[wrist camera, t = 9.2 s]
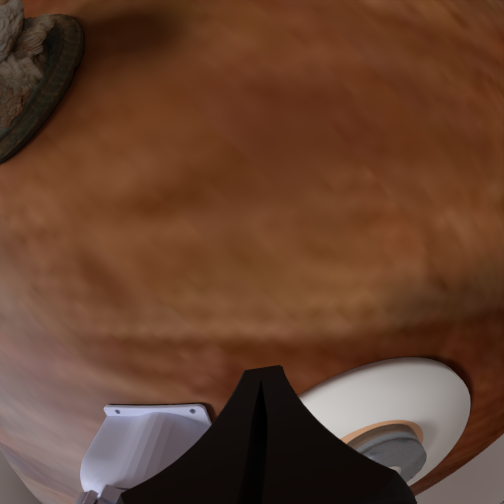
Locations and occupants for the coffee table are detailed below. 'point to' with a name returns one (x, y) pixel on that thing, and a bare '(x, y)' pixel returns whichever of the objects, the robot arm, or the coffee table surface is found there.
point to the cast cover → (392, 448)
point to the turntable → (395, 403)
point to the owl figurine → (33, 70)
